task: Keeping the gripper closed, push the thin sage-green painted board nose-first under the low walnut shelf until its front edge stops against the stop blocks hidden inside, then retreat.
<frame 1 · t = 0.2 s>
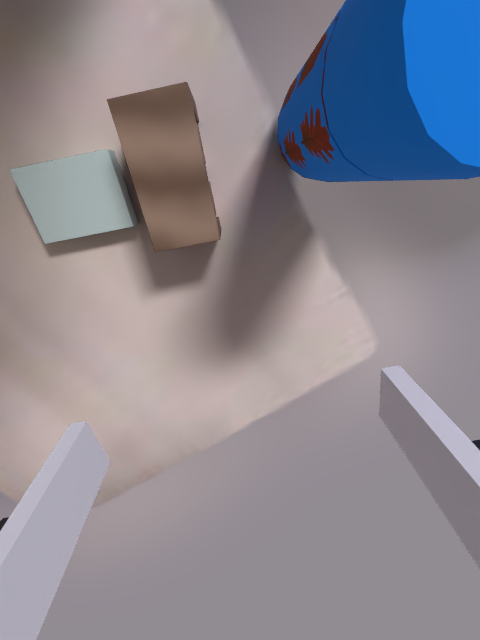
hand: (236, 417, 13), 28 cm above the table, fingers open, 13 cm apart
thermos: (322, 128, 31), on the table
shelf: (180, 178, 33), on the table
board: (84, 198, 34), on the table
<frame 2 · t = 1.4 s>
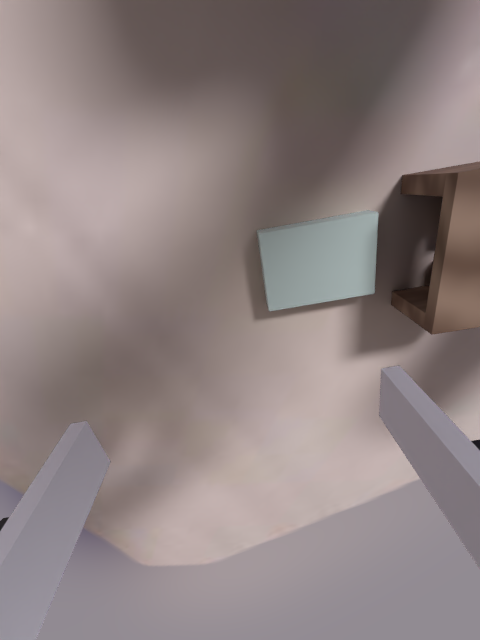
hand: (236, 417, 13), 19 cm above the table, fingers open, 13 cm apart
shelf: (430, 240, 29), on the table
board: (312, 259, 30), on the table
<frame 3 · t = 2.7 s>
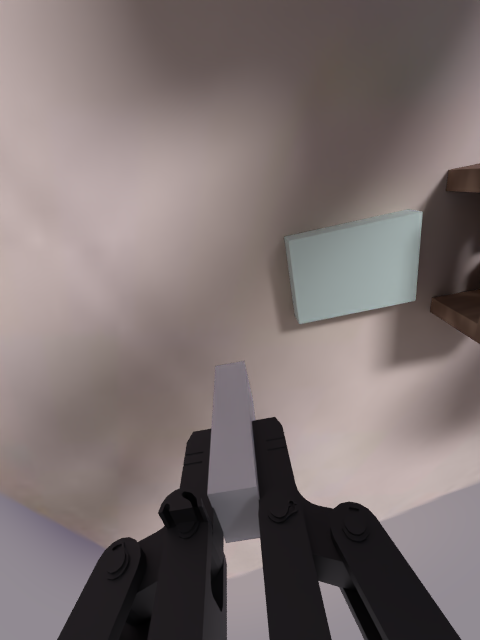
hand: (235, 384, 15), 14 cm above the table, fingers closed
shelf: (476, 241, 26), on the table
board: (345, 265, 27), on the table
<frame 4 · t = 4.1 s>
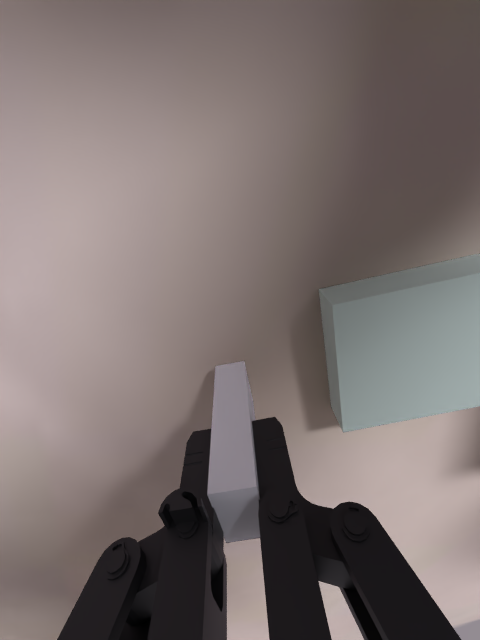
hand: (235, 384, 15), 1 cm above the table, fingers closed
board: (419, 329, 16), on the table
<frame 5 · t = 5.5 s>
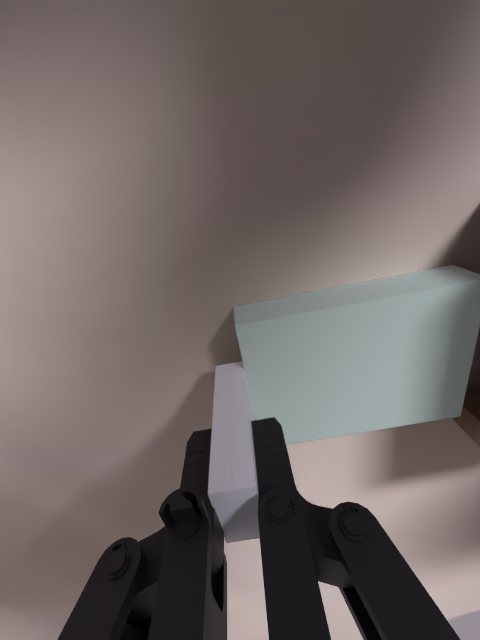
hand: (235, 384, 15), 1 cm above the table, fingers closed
board: (341, 349, 16), on the table, touching gripper
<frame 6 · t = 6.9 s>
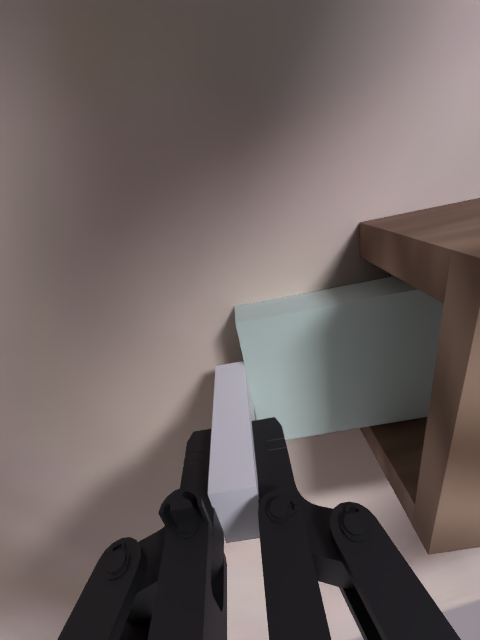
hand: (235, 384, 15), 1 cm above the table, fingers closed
shelf: (423, 332, 15), on the table
board: (339, 346, 16), on the table
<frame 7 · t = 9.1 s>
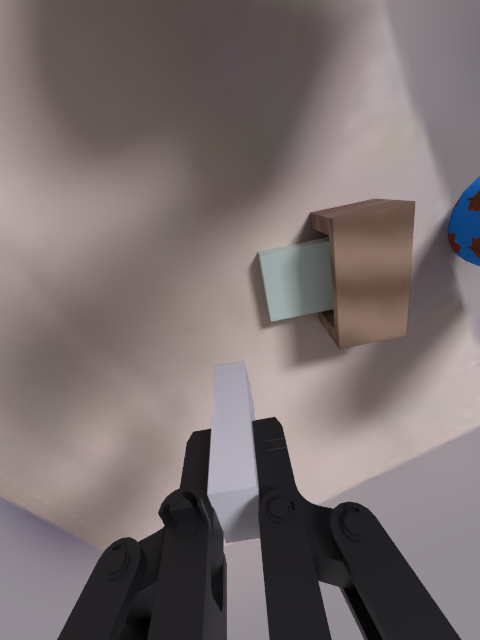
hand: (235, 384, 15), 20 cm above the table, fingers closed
shelf: (344, 265, 33), on the table
board: (308, 274, 34), on the table
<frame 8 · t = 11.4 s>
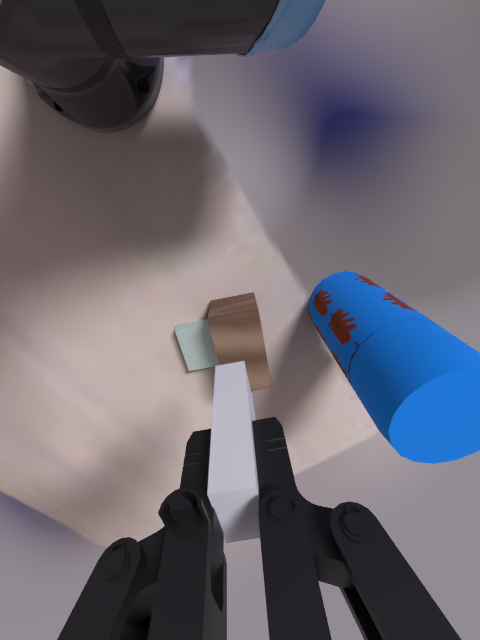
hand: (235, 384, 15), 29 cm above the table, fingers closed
thermos: (340, 302, 45), on the table
shelf: (239, 332, 47), on the table
board: (215, 337, 48), on the table
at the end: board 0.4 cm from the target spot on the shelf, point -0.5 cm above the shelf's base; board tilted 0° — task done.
